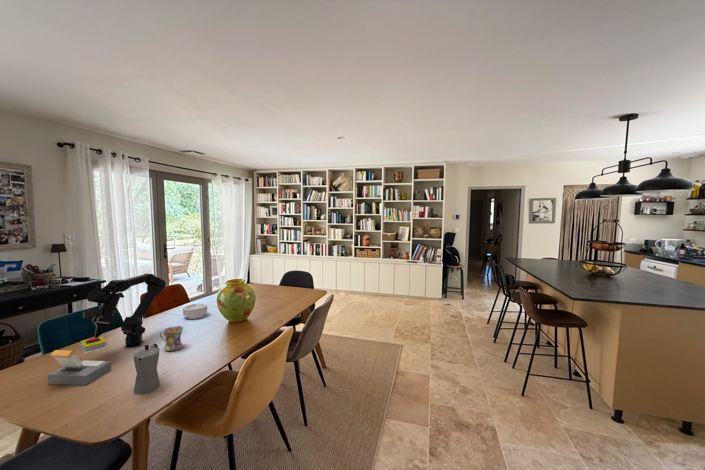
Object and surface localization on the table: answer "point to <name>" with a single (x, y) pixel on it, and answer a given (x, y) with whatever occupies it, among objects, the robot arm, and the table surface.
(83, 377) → the box
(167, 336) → the mug
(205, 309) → the paper bowls
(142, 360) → the coffeepot
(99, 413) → the table surface
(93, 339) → the emergency button
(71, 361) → the handle
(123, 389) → the table surface
